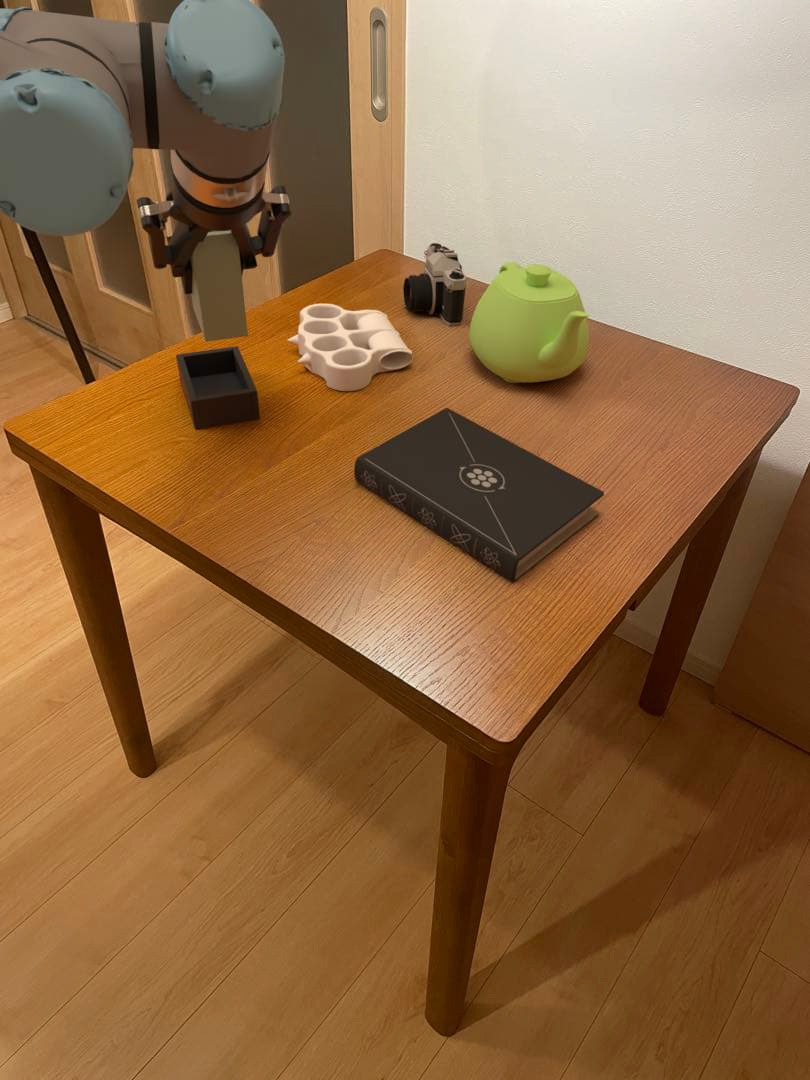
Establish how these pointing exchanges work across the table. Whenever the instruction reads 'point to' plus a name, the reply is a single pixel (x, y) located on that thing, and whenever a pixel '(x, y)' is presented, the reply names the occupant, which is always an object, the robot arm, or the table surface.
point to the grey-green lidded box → (218, 287)
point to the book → (479, 491)
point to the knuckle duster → (348, 345)
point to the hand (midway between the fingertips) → (210, 279)
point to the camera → (438, 286)
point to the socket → (217, 387)
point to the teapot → (530, 325)
